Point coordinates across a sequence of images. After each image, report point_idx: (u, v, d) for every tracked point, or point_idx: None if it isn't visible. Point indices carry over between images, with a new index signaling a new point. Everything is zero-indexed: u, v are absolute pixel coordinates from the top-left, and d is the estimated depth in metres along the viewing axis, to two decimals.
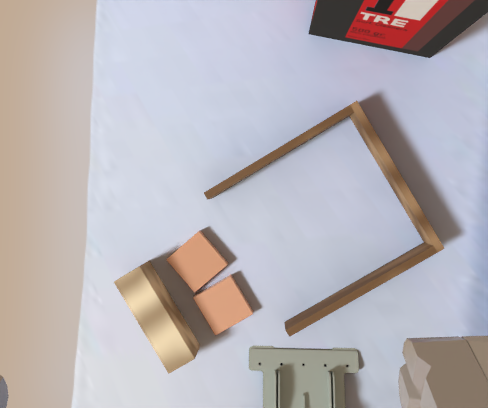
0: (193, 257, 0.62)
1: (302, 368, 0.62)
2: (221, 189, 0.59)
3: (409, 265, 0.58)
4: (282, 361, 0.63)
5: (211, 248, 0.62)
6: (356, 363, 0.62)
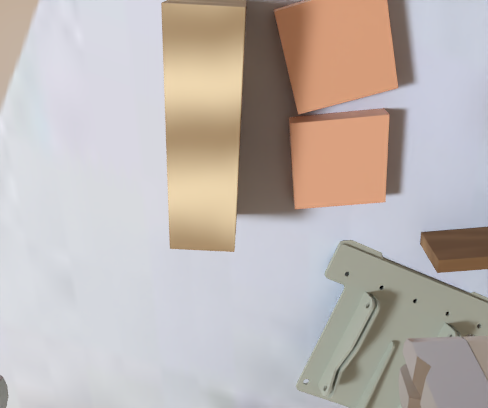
0: (336, 36, 0.25)
1: (410, 305, 0.35)
2: None
3: None
4: (385, 283, 0.34)
5: (387, 35, 0.25)
6: None
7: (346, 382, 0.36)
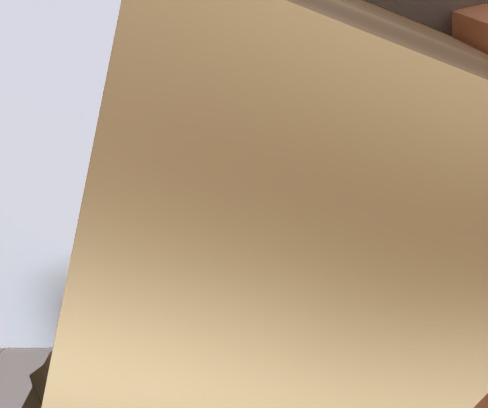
0: None
1: None
2: None
3: None
4: None
5: None
6: None
7: None
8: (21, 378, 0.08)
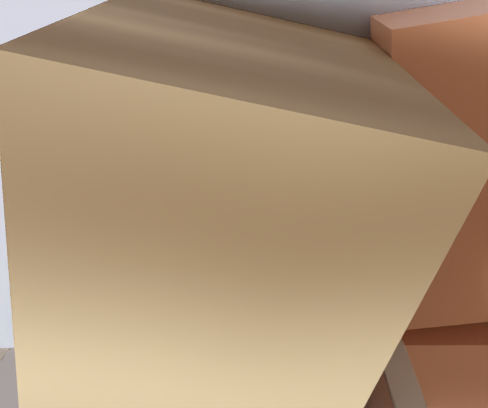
0: None
1: None
2: None
3: None
4: None
5: None
6: None
7: None
8: None
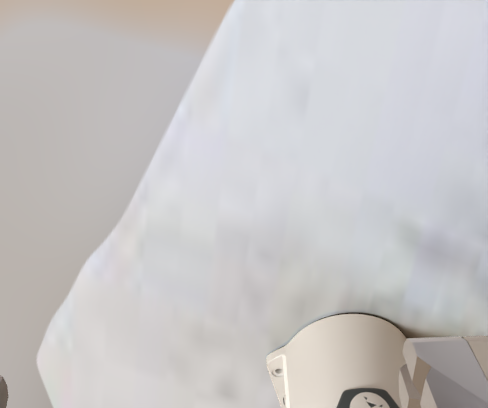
0: None
1: None
2: None
3: None
4: None
5: None
6: None
7: None
8: None
